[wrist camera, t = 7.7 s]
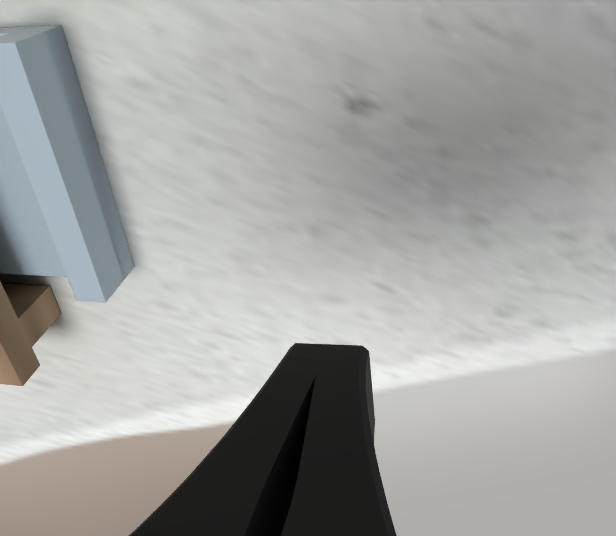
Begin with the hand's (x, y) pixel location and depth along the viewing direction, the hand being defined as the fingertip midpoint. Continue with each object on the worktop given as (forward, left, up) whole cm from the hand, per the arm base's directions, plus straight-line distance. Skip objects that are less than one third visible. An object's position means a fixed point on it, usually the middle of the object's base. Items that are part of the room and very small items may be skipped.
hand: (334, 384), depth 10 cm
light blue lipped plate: (+15, 0, -10) cm, 18 cm away
